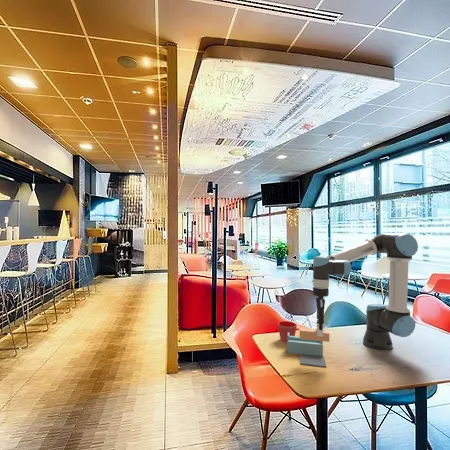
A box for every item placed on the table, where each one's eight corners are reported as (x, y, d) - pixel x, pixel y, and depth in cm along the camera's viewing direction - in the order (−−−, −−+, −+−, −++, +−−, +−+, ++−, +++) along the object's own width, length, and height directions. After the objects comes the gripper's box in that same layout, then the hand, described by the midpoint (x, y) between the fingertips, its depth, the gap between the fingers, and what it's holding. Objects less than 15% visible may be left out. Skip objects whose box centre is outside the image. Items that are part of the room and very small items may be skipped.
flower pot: (291, 345, 168) (292, 328, 168) (274, 340, 175) (274, 324, 175) (299, 339, 176) (299, 323, 177) (282, 335, 183) (282, 319, 183)
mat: (324, 358, 151) (324, 357, 151) (326, 367, 141) (326, 366, 141) (299, 356, 153) (300, 354, 153) (300, 364, 144) (300, 363, 144)
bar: (328, 338, 148) (328, 330, 148) (329, 341, 144) (329, 333, 144) (299, 336, 151) (299, 328, 151) (299, 338, 147) (299, 330, 147)
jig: (321, 350, 162) (321, 334, 162) (322, 356, 153) (322, 340, 153) (287, 346, 166) (287, 331, 166) (287, 353, 157) (287, 336, 157)
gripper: (311, 283, 156) (311, 328, 156) (313, 290, 140) (313, 339, 139) (326, 284, 154) (326, 329, 154) (330, 291, 138) (329, 341, 137)
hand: (319, 334), depth 147 cm, fingers closed on bar, 4 cm apart
